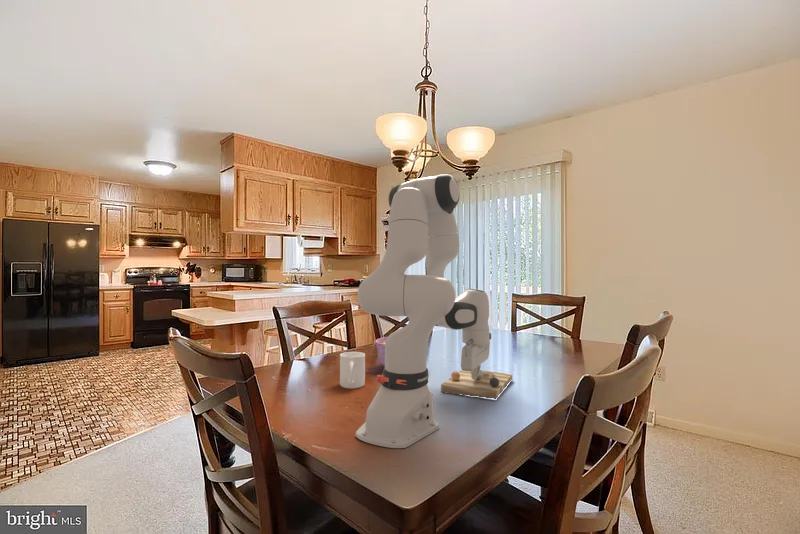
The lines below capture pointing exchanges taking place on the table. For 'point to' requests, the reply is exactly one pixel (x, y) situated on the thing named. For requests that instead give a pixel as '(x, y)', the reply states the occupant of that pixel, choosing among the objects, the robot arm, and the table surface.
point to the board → (477, 384)
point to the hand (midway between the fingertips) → (475, 378)
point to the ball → (480, 375)
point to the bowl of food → (381, 349)
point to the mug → (352, 370)
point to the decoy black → (494, 382)
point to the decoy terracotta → (455, 375)
